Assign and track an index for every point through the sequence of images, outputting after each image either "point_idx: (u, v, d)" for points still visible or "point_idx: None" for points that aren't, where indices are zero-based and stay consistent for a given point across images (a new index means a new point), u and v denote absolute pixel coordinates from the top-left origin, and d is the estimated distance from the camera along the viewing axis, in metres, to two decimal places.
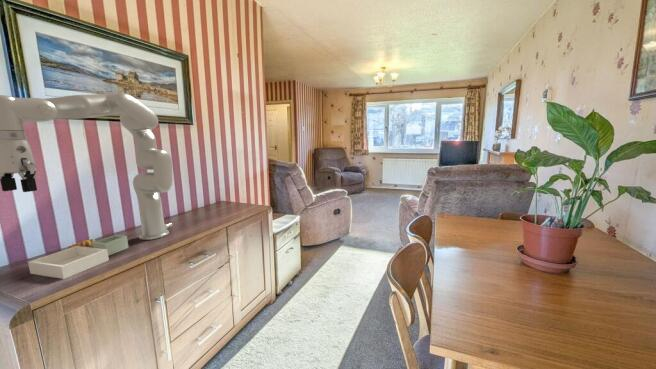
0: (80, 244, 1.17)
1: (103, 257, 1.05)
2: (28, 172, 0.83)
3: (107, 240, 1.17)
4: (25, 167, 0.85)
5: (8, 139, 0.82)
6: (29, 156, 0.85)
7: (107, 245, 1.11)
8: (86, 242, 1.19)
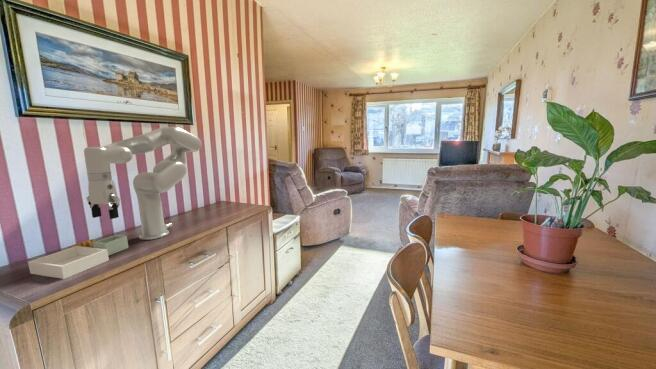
0: (80, 244, 1.17)
1: (103, 257, 1.05)
2: (115, 204, 1.10)
3: (107, 240, 1.17)
4: (111, 200, 1.12)
5: (101, 179, 1.09)
6: (114, 191, 1.12)
7: (107, 245, 1.11)
8: (86, 242, 1.18)
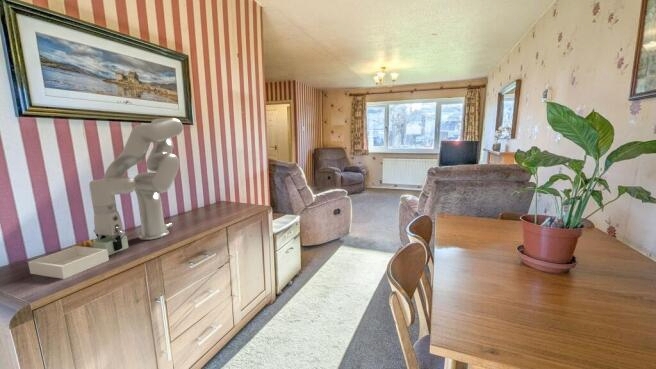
0: (81, 244, 1.17)
1: (103, 257, 1.05)
2: (119, 237, 1.13)
3: (106, 240, 1.17)
4: None
5: (107, 212, 1.11)
6: (119, 222, 1.14)
7: (107, 244, 1.11)
8: (87, 242, 1.18)
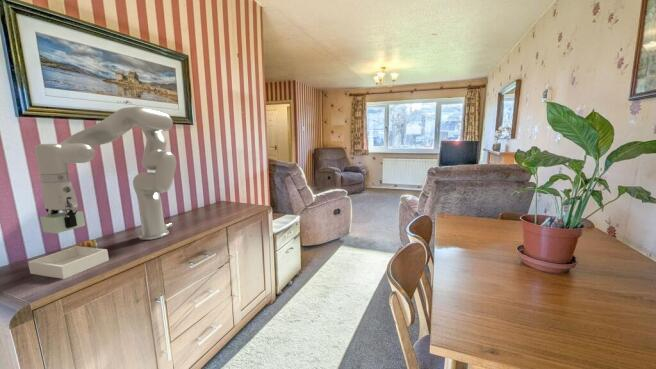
0: (82, 245, 1.17)
1: (103, 257, 1.05)
2: (71, 211, 0.96)
3: (59, 216, 1.00)
4: (69, 204, 0.98)
5: (56, 181, 0.94)
6: (73, 195, 0.98)
7: (56, 220, 0.95)
8: (88, 243, 1.18)
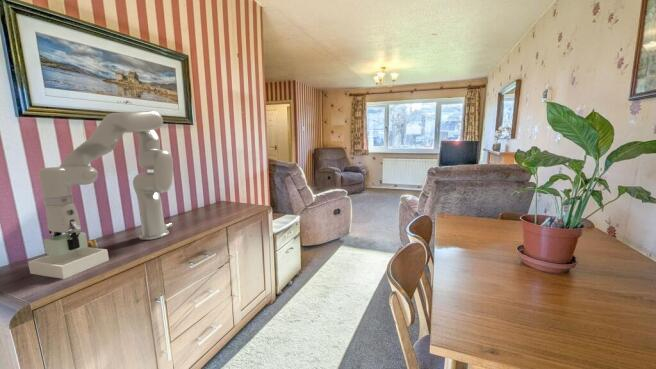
0: None
1: (103, 257, 1.05)
2: (74, 234, 0.97)
3: (62, 237, 1.01)
4: None
5: (60, 205, 0.96)
6: (76, 217, 0.99)
7: (59, 242, 0.96)
8: (88, 243, 1.18)
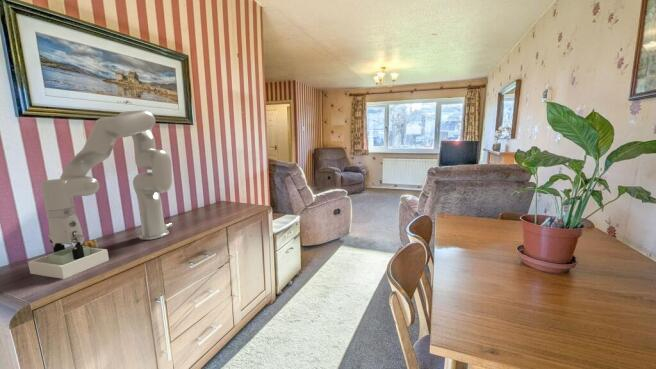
0: None
1: (103, 257, 1.05)
2: (78, 244, 0.98)
3: (65, 252, 1.02)
4: (75, 238, 1.00)
5: (62, 217, 0.96)
6: (78, 228, 1.00)
7: (64, 257, 0.97)
8: (88, 243, 1.18)
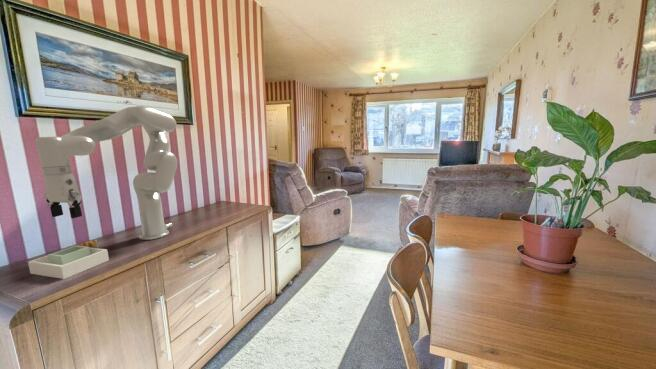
0: (83, 245, 1.16)
1: (103, 257, 1.05)
2: (76, 201, 0.97)
3: (65, 252, 1.02)
4: (72, 196, 0.99)
5: (58, 174, 0.95)
6: (75, 187, 0.99)
7: (64, 257, 0.97)
8: (89, 243, 1.17)
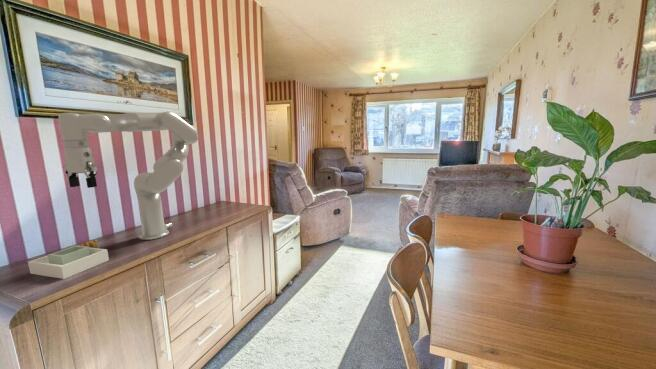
0: (84, 245, 1.16)
1: (103, 257, 1.05)
2: (92, 172, 1.07)
3: (65, 252, 1.02)
4: (88, 168, 1.10)
5: (77, 147, 1.06)
6: (91, 160, 1.09)
7: (64, 257, 0.97)
8: (90, 243, 1.17)
